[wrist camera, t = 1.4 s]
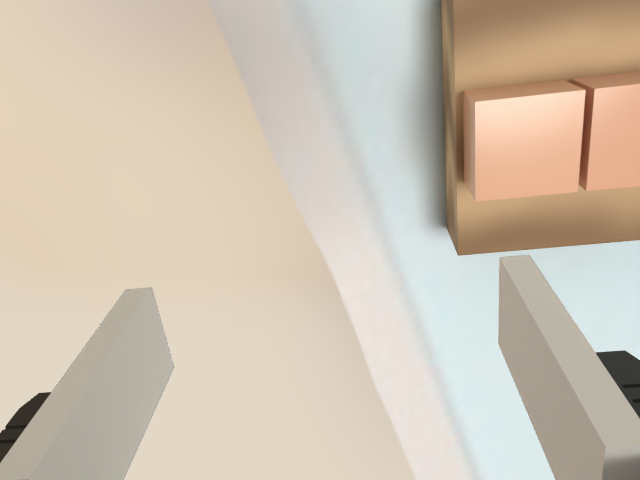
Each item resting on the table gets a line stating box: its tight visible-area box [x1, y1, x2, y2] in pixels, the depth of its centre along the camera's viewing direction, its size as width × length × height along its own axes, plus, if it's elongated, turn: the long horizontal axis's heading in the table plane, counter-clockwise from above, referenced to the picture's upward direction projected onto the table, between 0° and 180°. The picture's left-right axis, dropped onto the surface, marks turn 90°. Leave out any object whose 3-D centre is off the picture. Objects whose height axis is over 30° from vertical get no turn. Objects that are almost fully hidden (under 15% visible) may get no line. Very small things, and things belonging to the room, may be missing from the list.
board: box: [441, 0, 640, 255], centre depth 31 cm, size 14×11×4 cm
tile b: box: [571, 71, 640, 191], centre depth 28 cm, size 5×5×3 cm
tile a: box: [463, 80, 586, 202], centre depth 28 cm, size 5×5×3 cm
